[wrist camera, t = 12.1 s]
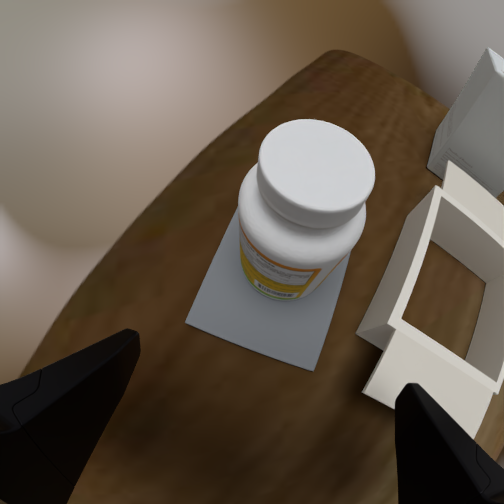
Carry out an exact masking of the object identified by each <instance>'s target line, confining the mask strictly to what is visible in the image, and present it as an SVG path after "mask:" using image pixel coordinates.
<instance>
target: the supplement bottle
mask: <svg viewBox="0 0 504 504" xmlns="http://www.w3.org/2000/svg"><path fill="white" fill-rule="evenodd" d="M374 181H375V169H374V165H373V161H372V159H371V157H370V155H369V153H368V151H367V150H366V148H365V147H364V146H363V144H362V143H361V142H360V141H359V140H358V139H357V138H356V137H354V136H353V135H352V134H351V133H349V132H348V131H346V130H344V129H342V128H340V127H338V126H336V125H334V124H331V123H328V122H324V121H319V120H311V119H300V120H294V121H290V122H287V123H284V124H282V125H279V126H278V127H276V128H275V129H273V130H272V131H271V132H270V133H269V134H268V135H267V136H266V137H265V139H264V141H263V142H262V145H261V147H260V151H259V157H258V163H257V164H256V165H254V166H253V167H252V169H251V170H250V171H249V172H248V174H247V175H246V177H245V178H244V180H243V182H242V185H241V188H240V192H239V199H238V216H239V236H240V259H241V265H242V269H243V272H244V275H245V277H246V279H247V280H248V282H249V283H250V284H251V285H252V286H253V287H254V288H255V289H256V290H257V291H258V292H260V293H261V294H263V295H265V296H267V297H269V298H272V299H275V300H282V301H290V300H296V299H299V298H302V297H305V296H306V295H308V294H310V293H311V292H313V291H314V290H315V289H316V288H317V287H318V286H319V285H320V284H321V283H322V282H323V281H324V280H325V279H326V277H327V276H328V275H329V274H330V273H331V272H332V271H333V270H334V269H335V268H336V266H337V265H338V264H339V263H340V262H341V261H342V260H343V259H344V258H345V257H346V255H347V254H348V253H349V252H350V251H351V250H352V248H353V247H354V245H355V244H356V243H357V241H358V239H359V238H360V236H361V233H362V231H363V228H364V225H365V219H366V206H365V201H366V200H367V198H368V196H369V195H370V193H371V191H372V189H373V186H374Z"/></svg>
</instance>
